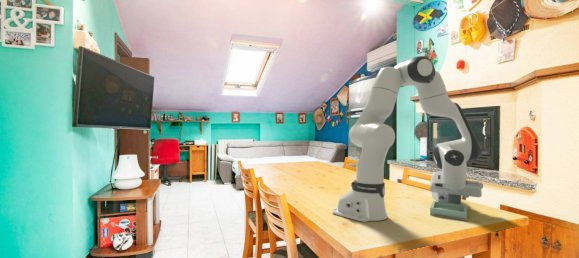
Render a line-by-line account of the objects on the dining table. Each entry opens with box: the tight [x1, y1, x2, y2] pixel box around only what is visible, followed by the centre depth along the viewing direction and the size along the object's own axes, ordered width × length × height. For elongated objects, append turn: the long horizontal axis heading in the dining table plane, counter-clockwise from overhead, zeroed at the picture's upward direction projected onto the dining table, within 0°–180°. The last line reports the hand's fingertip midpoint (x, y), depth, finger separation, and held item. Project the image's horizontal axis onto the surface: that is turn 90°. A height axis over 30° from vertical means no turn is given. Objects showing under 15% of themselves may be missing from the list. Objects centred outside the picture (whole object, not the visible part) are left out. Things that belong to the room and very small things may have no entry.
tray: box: [429, 200, 468, 222], centre depth 118 cm, size 13×13×3 cm
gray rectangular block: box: [447, 194, 462, 205], centre depth 128 cm, size 5×5×8 cm
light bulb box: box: [431, 192, 448, 203], centre depth 140 cm, size 11×7×11 cm, turn 168°
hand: (454, 197), depth 128 cm, fingers open, 6 cm apart
